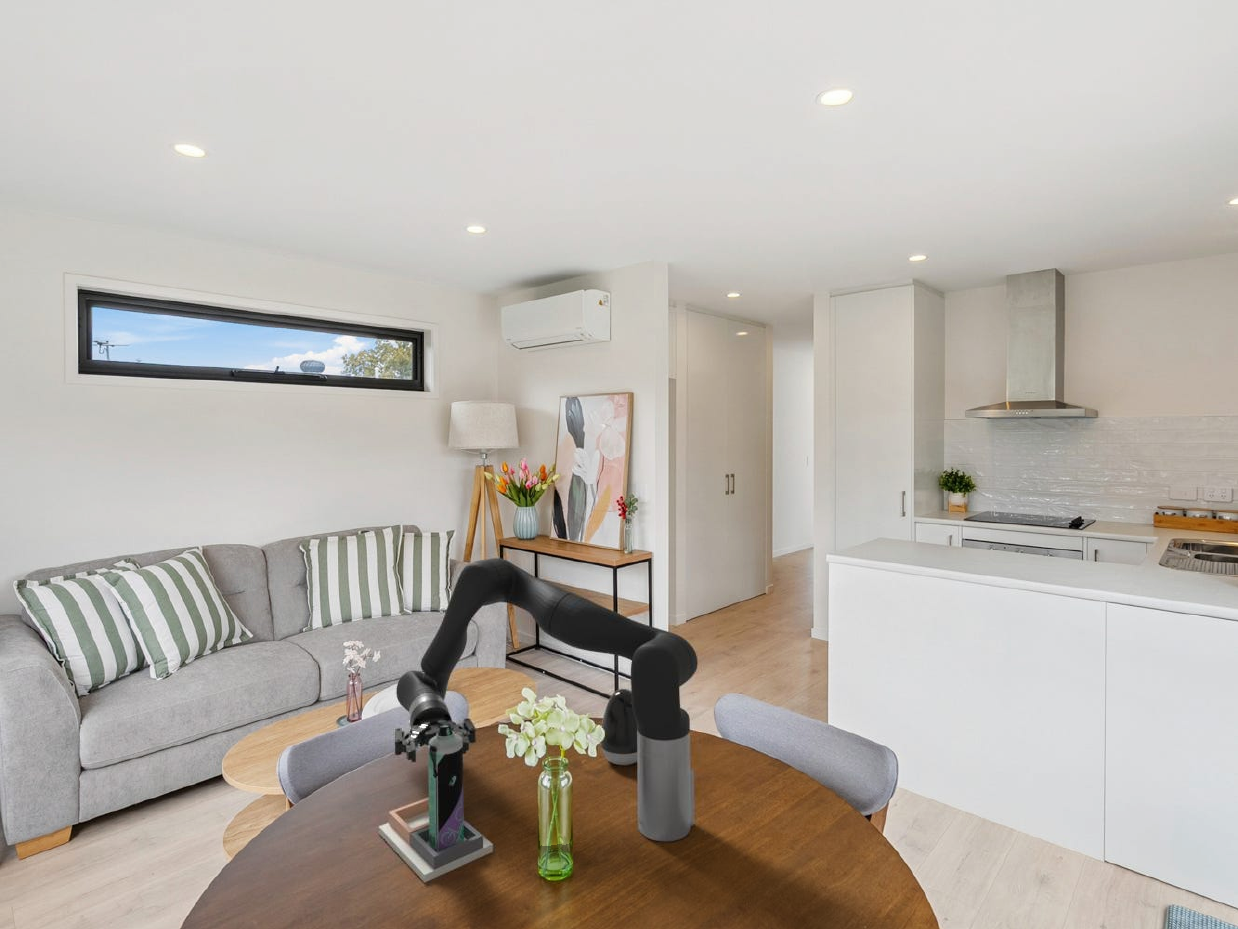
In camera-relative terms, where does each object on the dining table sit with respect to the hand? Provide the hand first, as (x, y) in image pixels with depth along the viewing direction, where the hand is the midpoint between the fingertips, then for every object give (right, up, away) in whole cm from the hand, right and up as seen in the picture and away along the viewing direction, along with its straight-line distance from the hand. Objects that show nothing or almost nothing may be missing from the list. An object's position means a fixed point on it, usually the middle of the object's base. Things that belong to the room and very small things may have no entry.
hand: (439, 752), depth 116 cm
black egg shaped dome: (+32, -13, +27) cm, 44 cm away
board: (0, -14, -3) cm, 14 cm away
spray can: (+3, -13, -6) cm, 15 cm away
